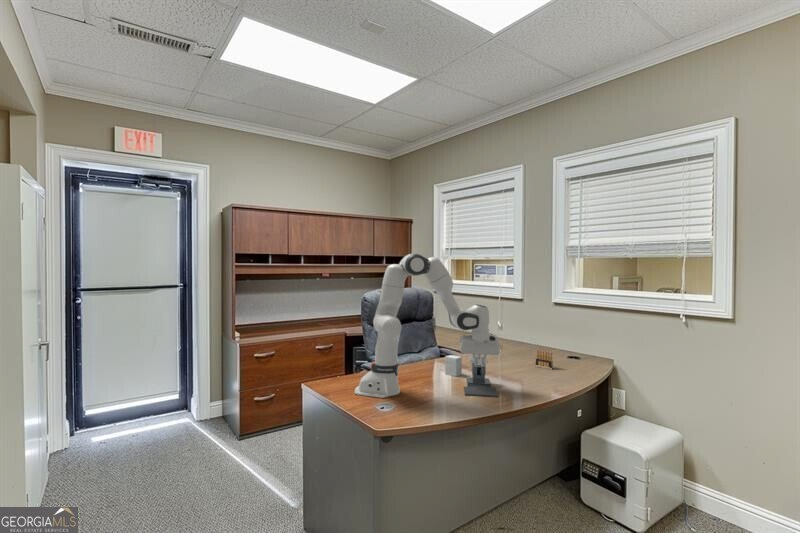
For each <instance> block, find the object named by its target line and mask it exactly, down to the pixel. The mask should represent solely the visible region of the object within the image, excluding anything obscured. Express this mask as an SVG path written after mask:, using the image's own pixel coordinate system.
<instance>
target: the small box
mask: <svg viewBox="0 0 800 533" xmlns="http://www.w3.org/2000/svg"><path fill="white" fill-rule="evenodd" d="M444 358H445V362H444V363H445V364H444V365H445V366H444V368H445V370H444V371H445V372H444V374H445V375H448V376H451V377H456V378H457V377H459V376H462V374H463V372H462V371H463V369H462V368H463V366H462V365H463V364H462V363H463V361H462V360H463V359H462V356H457V355H454V354H453V355H452V354H449V355H446V356H445V357H444Z"/></svg>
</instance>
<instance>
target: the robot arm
mask: <svg viewBox="0 0 800 533" xmlns="http://www.w3.org/2000/svg"><path fill="white" fill-rule="evenodd" d="M383 274H384V275H383V278H382V284H381V288H380V289H381V290H380V294H379V295H380V296H379V300H378V305H377V307H376V310H375V314H374V317H373V321H372V323H373V328H374V330H375V331H376V332H377V340H376V345H375V347H374V348H375V350H374V352H375V354H374V355H375V356H374V358H375V359H374V361H373V362H371V365H370V371H368V372H367V373H366V374H364V375H363V376H362V377H361V378H360V380H359V384H358V386H356V387H355V389H354V394H355V395H356V394H357V395H358V396H365V397H372V398H382V399H385V398H388V397H391V396H392V397H393V396H397V395H399V394H400V393H401V389H400V385H399V378H398V375H399V363H398V347H399V341H400V336H401V332H402V329H403V327H402V324H401V320H400V319H399V318H398V317H397V315H398V312H399V310H400V307H401V306H402V301H403V296H404V289H405V282H406V279H407V278H408V277H409V276H413V277H415V276H420V275H423V276H425V277H426V279H427V281H428V284H430V286H431V288H432V289H433V291H435V293H436V294H437V295H438V296H439V297H440V299H441V301H442V303H443V304H444V306H445V309H446V310H447V313H448V317H449V318H448V319H449V323H450V324H451V325H452V326H453V327H455V328H457V329H459V330H463V331H469V330H471V334H470V335H466V334H465V335H462V336H460V337H459V343H460V348H459V351H460V353H461V354H466V355H467V354H468V355H470V354H471V355H472V356H473V357H474V359H475V363H478V359H476V358H475V356H477V354H481V355H483V356H484V358H483V359H482V363H484V360H485V359H486V357H487V356H489V355H490V356H499V355H500V354H501V349H500V347H501V346H500V343H499V341H498V339H499V338H498V335H496V334H494V333H492V332H491V333H490V329H489V328H490V327H489V324H490V310H489V308H488V307H487V306H485V305H482V304H473V305H471V307H469V308H468V309H465V310H464V309H463V308H461V307H460V306H459V304H458V303H457V301H456V299H455V297H454V295H453V288H454V281H453V278H452V276H451V274H450V272H449V270H448V269H447V267H446V266H445V265H444V264H443V262H442V261H441V260H440V259H439V258H438V257H436V256H431V257H428V258H427V257H424V256H423V255H421V254H419V253H408V254H406V255H404V256H403V257H402V258H401V259H400V261H399V262H398V263H397V264H396V263H393V264H389V265H388V266H387V267H386V270H385V272H384V273H383ZM487 358H488V357H487Z"/></svg>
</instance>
